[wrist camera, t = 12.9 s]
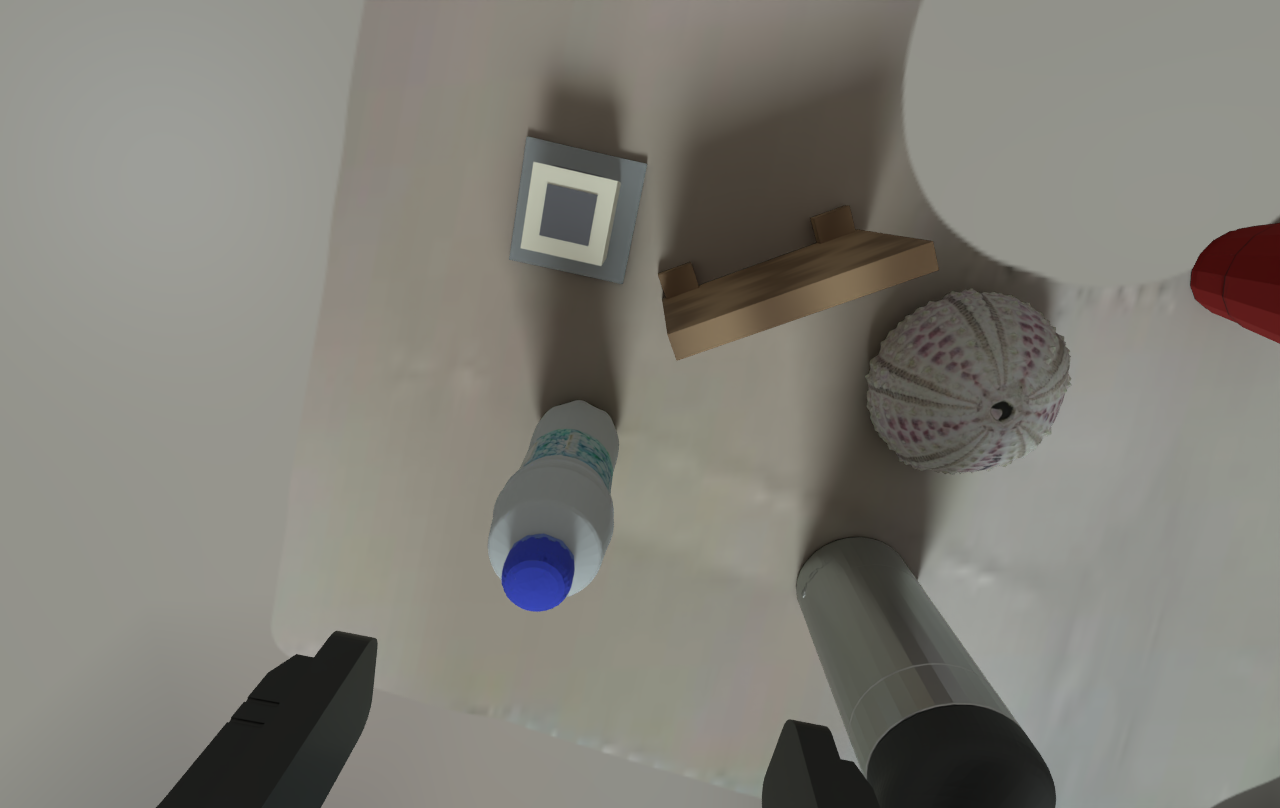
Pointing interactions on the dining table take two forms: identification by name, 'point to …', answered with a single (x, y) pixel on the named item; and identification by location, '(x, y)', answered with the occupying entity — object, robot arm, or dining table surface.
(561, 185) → the white marker cube
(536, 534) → the bottle
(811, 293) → the walnut screen
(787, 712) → the dining table surface
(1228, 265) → the plastic cup
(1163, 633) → the dining table surface
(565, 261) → the slate coaster
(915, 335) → the sea urchin shell
